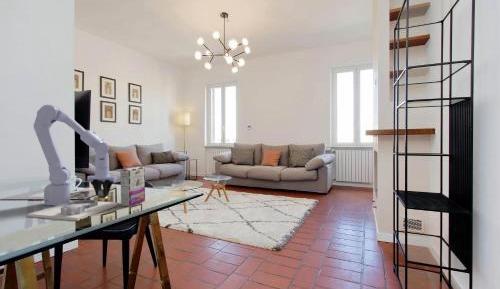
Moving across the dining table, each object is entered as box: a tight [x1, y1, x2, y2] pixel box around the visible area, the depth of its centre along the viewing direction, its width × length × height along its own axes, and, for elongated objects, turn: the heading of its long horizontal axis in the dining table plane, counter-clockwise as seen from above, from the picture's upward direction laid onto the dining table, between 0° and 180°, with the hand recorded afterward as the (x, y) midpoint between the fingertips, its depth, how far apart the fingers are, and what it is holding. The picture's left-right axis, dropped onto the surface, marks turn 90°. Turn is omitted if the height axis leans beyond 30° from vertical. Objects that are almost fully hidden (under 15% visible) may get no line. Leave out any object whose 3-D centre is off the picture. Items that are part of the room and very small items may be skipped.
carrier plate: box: [27, 199, 120, 222], centre depth 105 cm, size 22×22×4 cm
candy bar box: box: [119, 166, 146, 207], centre depth 116 cm, size 11×5×16 cm, turn 168°
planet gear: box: [93, 188, 112, 202], centre depth 122 cm, size 7×7×5 cm
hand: (102, 195), depth 122 cm, fingers closed on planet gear, 4 cm apart
